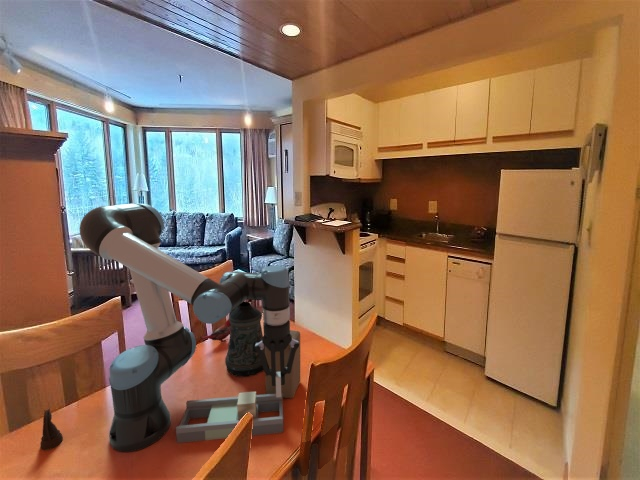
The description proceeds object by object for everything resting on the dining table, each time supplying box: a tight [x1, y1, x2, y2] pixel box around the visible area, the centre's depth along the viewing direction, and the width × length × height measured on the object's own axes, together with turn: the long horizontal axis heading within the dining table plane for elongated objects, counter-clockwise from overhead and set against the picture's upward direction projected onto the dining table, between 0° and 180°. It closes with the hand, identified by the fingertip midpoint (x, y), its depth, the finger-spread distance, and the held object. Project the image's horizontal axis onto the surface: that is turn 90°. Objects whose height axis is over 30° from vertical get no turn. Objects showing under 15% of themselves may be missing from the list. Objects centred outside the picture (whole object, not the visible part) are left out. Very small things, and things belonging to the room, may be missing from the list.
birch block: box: [237, 391, 257, 420], centre depth 91 cm, size 5×5×5 cm
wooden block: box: [264, 329, 301, 399], centre depth 105 cm, size 10×10×20 cm
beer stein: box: [224, 301, 265, 378], centre depth 119 cm, size 16×19×25 cm
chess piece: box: [40, 407, 64, 451], centre depth 83 cm, size 5×5×10 cm
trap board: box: [175, 393, 284, 444], centre depth 91 cm, size 29×11×4 cm, turn 98°
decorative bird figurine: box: [199, 318, 231, 344], centre depth 135 cm, size 3×18×10 cm, turn 139°
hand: (278, 394), depth 92 cm, fingers closed
